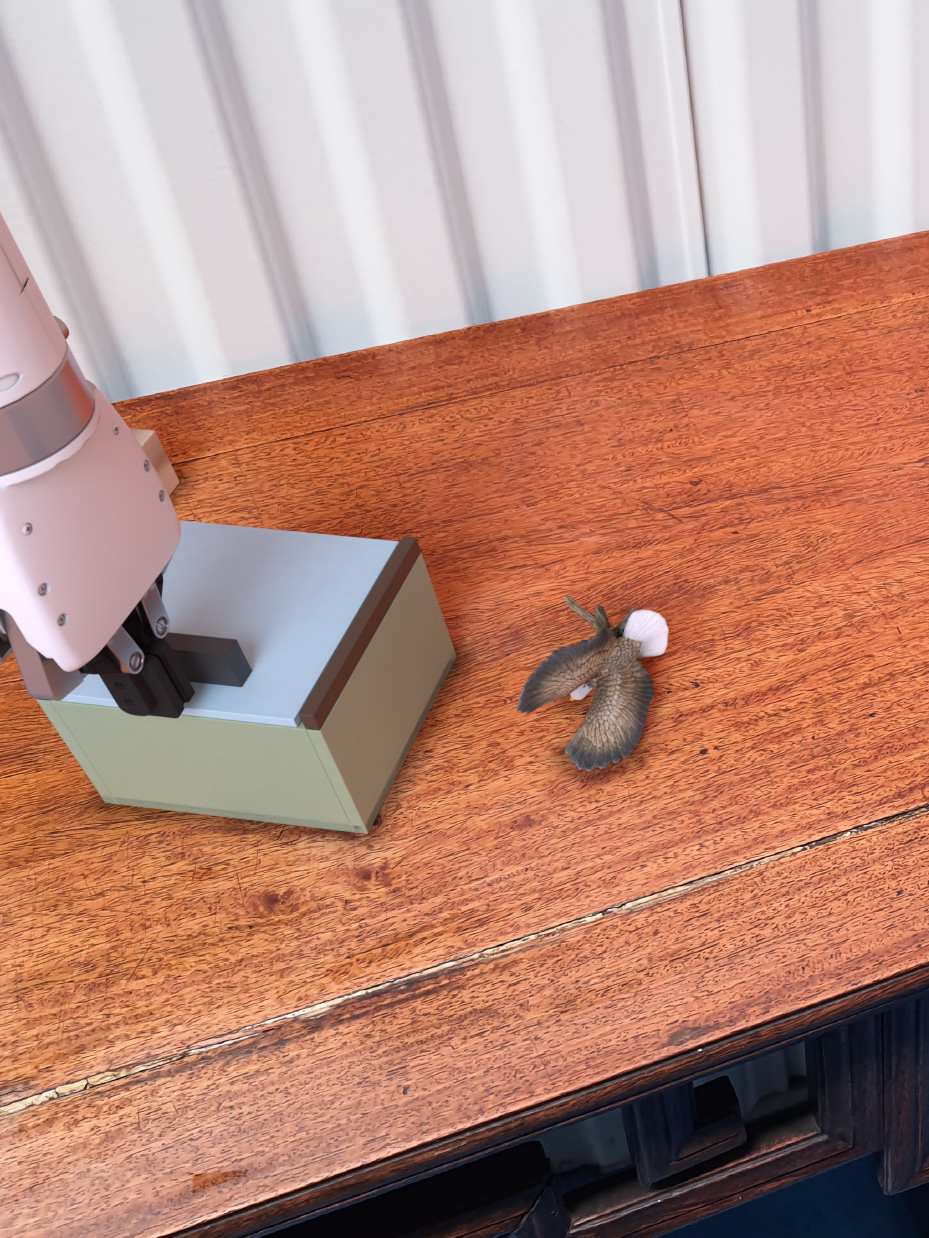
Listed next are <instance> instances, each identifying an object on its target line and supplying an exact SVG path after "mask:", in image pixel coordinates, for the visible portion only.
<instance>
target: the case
mask: <svg viewBox="0 0 929 1238" xmlns="http://www.w3.org/2000/svg"><path fill="white" fill-rule="evenodd" d="M450 635H451V634H450V633H449V630H448V627H447V624H446V621H445V618H444V615H443V612H442V609H441V606H440V603H439V599H438V597H437V594H436V591H435V589H434V585H433V582H432V579H431V577H430V573H429V570H428V568H427V565H426V561H425V559H424V556H423V553H422V550H421V547H420V544H419V541H418V538H417V536H412V535H411V536H410V535H403V536H402V538H401V540H400V541H399V544H398V546H397V548H396V550H395V551H394V553H393V555H392V556H391V558H390V560H389V561H388V563H387V565H386V567H385V568H384V570H383V572H382V573H381V575H380V577H379V578H378V580H377V582H376V584H375V585H374V587H373V589H372V590H371V592H370V594H369V595H368V597H367V599H366V601H365V602H364V604H363V606H362V607H361V609H360V611H359V612H358V614H357V616H356V618H355V619H354V621H353V623H352V624H351V626H350V628H349V629H348V631H347V633H346V635H345V636H344V638H343V640H342V641H341V643H340V645H339V646H338V648H337V650H336V652H335V653H334V655H333V657H332V658H331V660H330V662H329V664H328V665H327V667H326V669H325V670H324V672H323V674H322V675H321V677H320V679H319V681H318V682H317V684H316V686H315V687H314V689H313V691H312V692H311V694H310V696H309V698H308V699H307V701H306V703H305V704H304V706H303V708H302V709H301V711H300V713H299V716H300V718H301V721H300V723H299V725H298V726H297V727H290V726H281V725H272V724H263V723H254V722H245V721H236V720H227V719H218V718H209V717H200V716H191V715H182V714H181V715H180V717H179V718H166V717H158V716H149V715H148V716H135V715H130V714H128V713H126V712H124V711H122V710H121V709H120V708H119V707H111V706H102V705H93V704H84V703H75V702H66V701H57V700H48V699H39V698H34V699H35V700H36V702H37V704H38V705H39V707H40V708H41V710H42V711H43V713H44V714H45V716H46V717H47V718H48V720H49V721H50V723H51V724H52V726H53V727H54V729H55V731H56V732H57V733H58V735H59V736H60V738H61V739H62V741H63V742H64V744H65V745H66V747H67V748H68V750H69V751H70V752H71V754H72V756H73V758H75V760H76V762H77V763H78V764H79V766H80V767H81V769H82V771H83V772H84V773H85V775H86V776H87V778H88V779H89V781H90V782H91V784H92V785H93V787H94V788H95V790H96V792H97V793H98V794H99V796H100V798H101V799H102V800H103V802H104V803H106V804H113V805H121V806H130V807H139V808H147V809H155V810H162V811H163V810H164V811H171V812H179V813H187V814H196V815H197V814H198V815H205V816H213V817H222V818H229V819H239V820H245V821H246V820H247V821H255V822H264V823H273V824H281V825H289V826H297V827H306V828H314V829H323V830H331V831H340V832H346V833H347V832H348V833H355V834H356V833H357V834H363V835H364V834H365V835H368V834H369V833H370V831H371V829H372V827H373V825H374V823H375V821H376V818H377V817H378V814H379V813H380V811H381V809H382V807H383V805H384V803H385V801H386V799H387V797H388V795H389V793H390V791H391V789H392V787H393V785H394V783H395V781H396V779H397V777H398V775H399V773H400V771H401V769H402V767H403V765H404V763H405V761H406V759H407V757H408V755H409V754H410V751H411V749H412V747H413V745H414V743H415V741H416V739H417V737H418V735H419V733H420V731H421V729H422V727H423V725H424V724H425V721H426V719H427V717H428V715H429V713H430V711H431V710H432V707H433V705H434V703H435V701H436V699H437V697H438V695H439V694H440V691H441V690H442V687H443V685H444V684H445V681H446V679H447V677H448V676H449V674H450V671H451V670H452V668H453V665H454V664H455V662H456V660H457V653H456V650H455V647H454V645H453V644H454V643H453V642H452V639H451V636H450Z"/></svg>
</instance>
